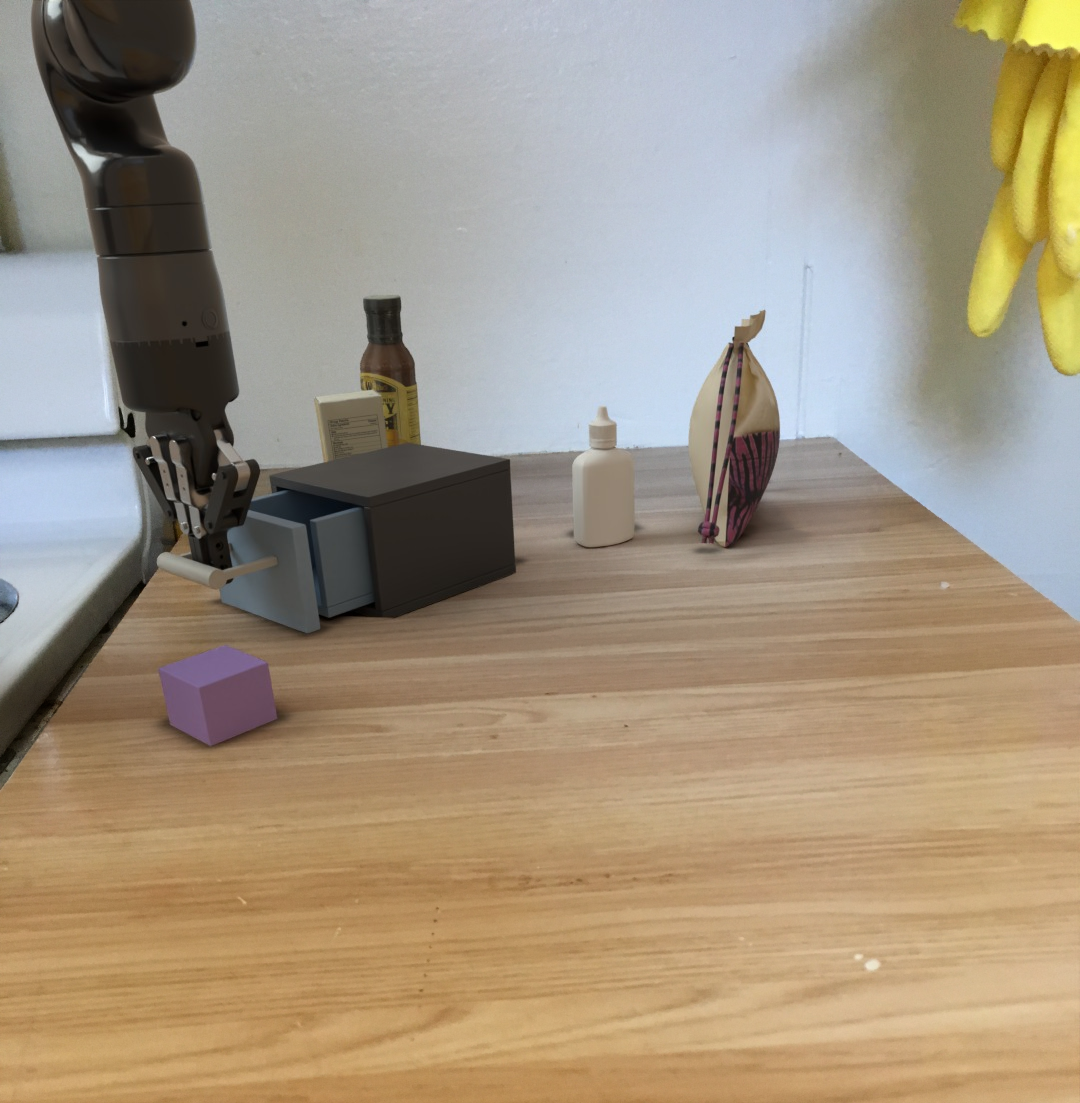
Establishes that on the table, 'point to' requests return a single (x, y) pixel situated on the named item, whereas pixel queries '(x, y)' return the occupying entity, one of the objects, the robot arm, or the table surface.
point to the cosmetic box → (350, 424)
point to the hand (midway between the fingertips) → (216, 583)
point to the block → (218, 694)
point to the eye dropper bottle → (603, 488)
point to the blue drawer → (290, 560)
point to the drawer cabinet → (421, 519)
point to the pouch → (733, 437)
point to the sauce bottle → (390, 369)
